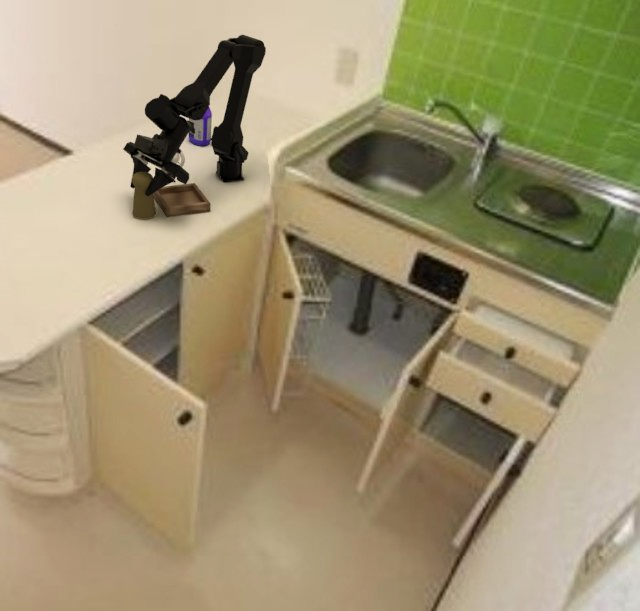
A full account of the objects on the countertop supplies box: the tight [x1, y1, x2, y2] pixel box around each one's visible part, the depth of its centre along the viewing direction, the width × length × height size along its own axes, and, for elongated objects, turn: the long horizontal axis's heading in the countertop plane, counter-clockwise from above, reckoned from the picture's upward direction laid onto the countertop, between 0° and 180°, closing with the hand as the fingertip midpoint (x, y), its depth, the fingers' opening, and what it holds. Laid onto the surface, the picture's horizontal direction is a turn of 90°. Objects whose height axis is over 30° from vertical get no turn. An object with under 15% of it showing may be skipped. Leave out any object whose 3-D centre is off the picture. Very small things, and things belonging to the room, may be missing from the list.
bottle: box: [188, 106, 213, 147], centre depth 201 cm, size 7×6×17 cm
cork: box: [131, 172, 157, 220], centre depth 162 cm, size 6×6×11 cm
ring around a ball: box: [171, 148, 186, 168], centre depth 187 cm, size 8×6×8 cm
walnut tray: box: [153, 182, 211, 218], centre depth 172 cm, size 12×12×2 cm
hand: (139, 191), depth 161 cm, fingers closed on cork, 5 cm apart
